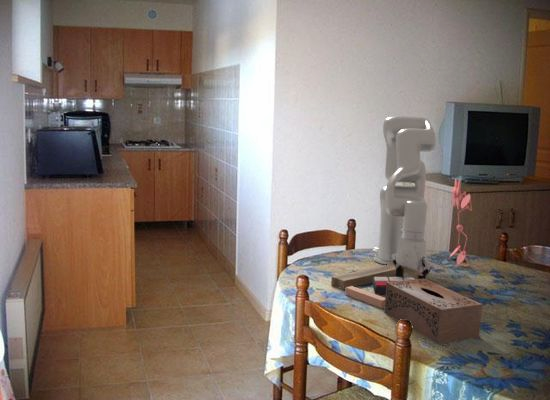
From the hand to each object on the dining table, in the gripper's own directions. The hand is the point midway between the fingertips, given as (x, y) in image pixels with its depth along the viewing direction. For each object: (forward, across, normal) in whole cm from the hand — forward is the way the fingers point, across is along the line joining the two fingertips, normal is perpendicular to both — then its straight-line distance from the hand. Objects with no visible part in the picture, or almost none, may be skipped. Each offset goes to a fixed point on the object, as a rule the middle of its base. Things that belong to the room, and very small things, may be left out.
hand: (409, 282), depth 213 cm
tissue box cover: (+3, +26, -23) cm, 35 cm away
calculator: (+3, -1, -6) cm, 7 cm away
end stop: (+2, 0, -23) cm, 23 cm away
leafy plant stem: (+2, -14, +44) cm, 46 cm away
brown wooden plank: (+2, -15, -5) cm, 16 cm away
